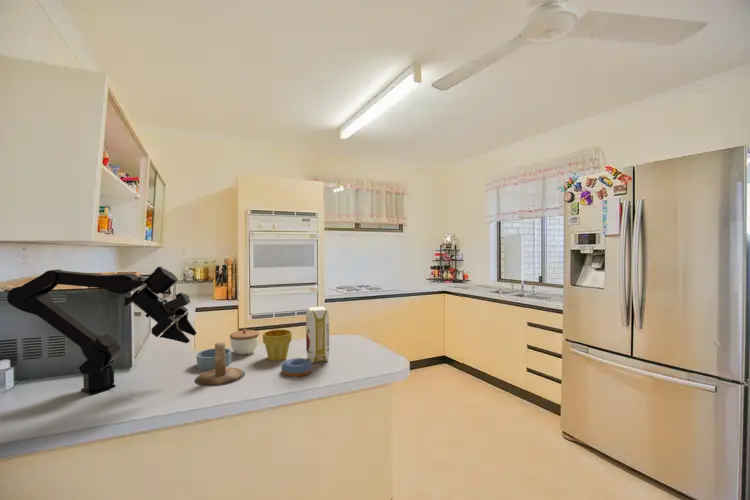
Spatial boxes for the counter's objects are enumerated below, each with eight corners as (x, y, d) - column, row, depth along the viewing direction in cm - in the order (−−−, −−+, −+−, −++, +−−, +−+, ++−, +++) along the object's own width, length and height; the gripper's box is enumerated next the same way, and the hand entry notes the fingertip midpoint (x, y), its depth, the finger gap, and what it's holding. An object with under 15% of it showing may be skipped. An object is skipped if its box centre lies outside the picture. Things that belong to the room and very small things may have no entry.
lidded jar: (250, 358, 137) (249, 333, 137) (224, 356, 140) (223, 332, 139) (264, 349, 148) (263, 326, 148) (240, 348, 150) (239, 325, 150)
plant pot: (285, 363, 131) (285, 336, 131) (258, 362, 133) (257, 335, 133) (296, 354, 141) (295, 329, 141) (270, 353, 143) (270, 328, 143)
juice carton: (325, 354, 141) (324, 305, 141) (330, 361, 133) (330, 309, 133) (305, 357, 139) (305, 307, 138) (309, 364, 131) (309, 311, 130)
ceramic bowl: (211, 372, 122) (211, 359, 122) (190, 367, 127) (189, 354, 127) (237, 363, 132) (237, 350, 132) (217, 358, 137) (216, 346, 137)
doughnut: (296, 380, 116) (297, 365, 116) (274, 375, 121) (275, 361, 121) (317, 373, 124) (318, 359, 124) (296, 369, 129) (296, 356, 130)
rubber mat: (216, 391, 108) (216, 389, 108) (183, 382, 115) (183, 380, 115) (255, 374, 121) (255, 373, 121) (223, 367, 128) (223, 366, 128)
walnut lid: (217, 388, 109) (216, 352, 109) (188, 380, 115) (188, 346, 115) (250, 373, 120) (250, 341, 120) (223, 367, 127) (222, 336, 126)
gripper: (163, 289, 104) (205, 325, 108) (180, 282, 123) (216, 313, 126) (132, 318, 103) (176, 354, 106) (154, 306, 121) (191, 337, 124)
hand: (192, 338), depth 115 cm, fingers open, 9 cm apart
